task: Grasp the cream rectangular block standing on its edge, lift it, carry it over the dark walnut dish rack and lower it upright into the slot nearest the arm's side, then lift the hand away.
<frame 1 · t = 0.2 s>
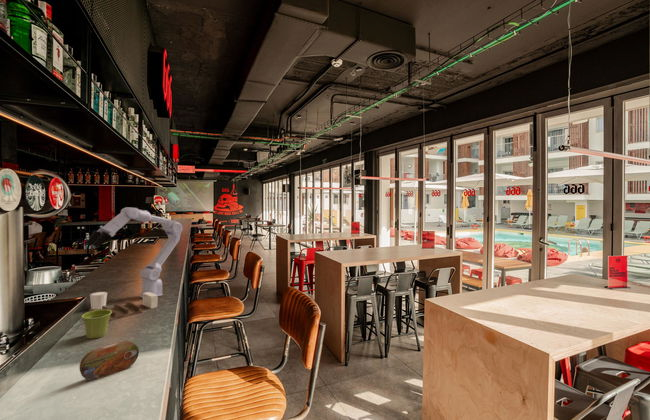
hand: (91, 245, 145), 31 cm above the bar counter, tool tilted 45°, fingers open, 7 cm apart
rack: (115, 314, 141), on the bar counter
shot glass: (98, 307, 149), on the bar counter
tin: (110, 373, 94), on the bar counter
cream rectangular block: (150, 305, 154), on the bar counter
plant pot: (96, 336, 118), on the bar counter
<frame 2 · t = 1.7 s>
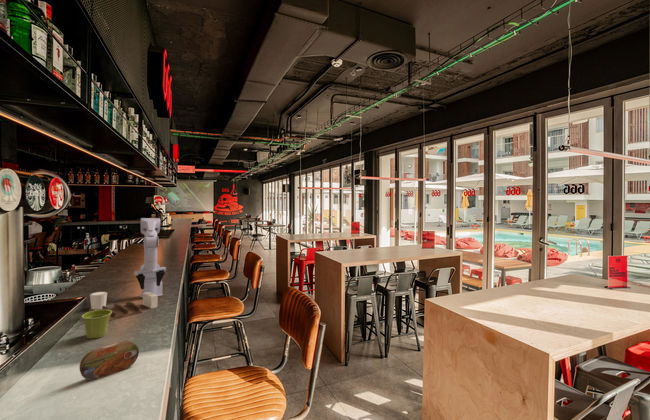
hand: (150, 287, 154), 9 cm above the bar counter, tool pointing down, fingers open, 7 cm apart
nothing on the bar counter moved.
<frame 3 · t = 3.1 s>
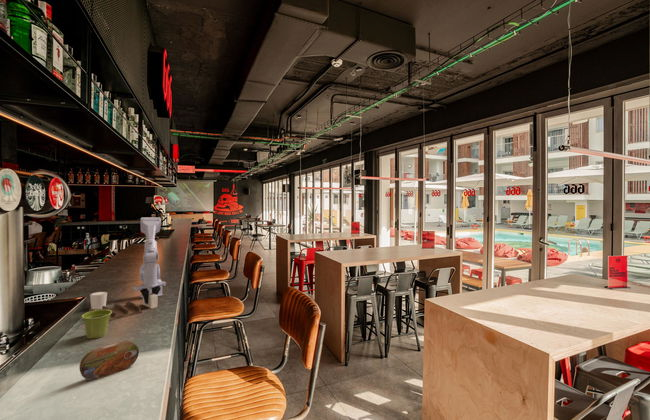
hand: (150, 302, 154), 2 cm above the bar counter, tool pointing down, fingers closed on cream rectangular block, 3 cm apart
cream rectangular block: (150, 305, 154), on the bar counter, touching gripper
everything else where it was.
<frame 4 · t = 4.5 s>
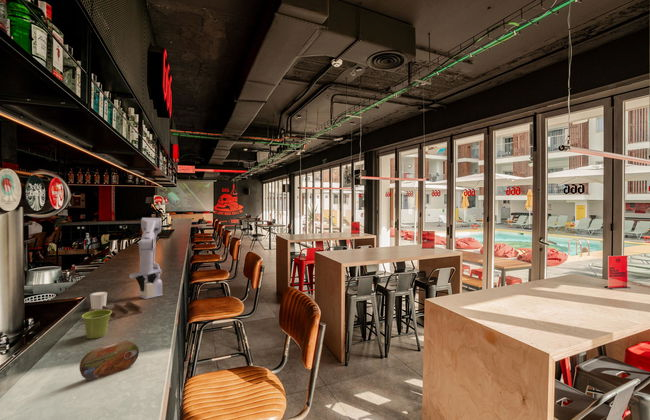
hand: (145, 290, 152), 8 cm above the bar counter, tool pointing down, fingers closed on cream rectangular block, 3 cm apart
cream rectangular block: (146, 294, 152), point 6 cm above the bar counter, touching gripper
everything else where it was.
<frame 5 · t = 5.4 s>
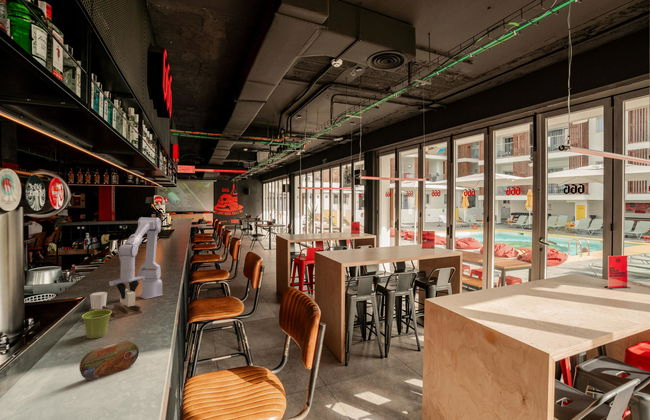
hand: (127, 297, 145), 7 cm above the bar counter, tool pointing down, fingers closed on cream rectangular block, 3 cm apart
cream rectangular block: (127, 303, 145), point 4 cm above the bar counter, touching gripper
everything else where it was.
when the fingers open (4 cm above the bar counter, at t = 6.1 s): cream rectangular block stays where it is, resting on rack.
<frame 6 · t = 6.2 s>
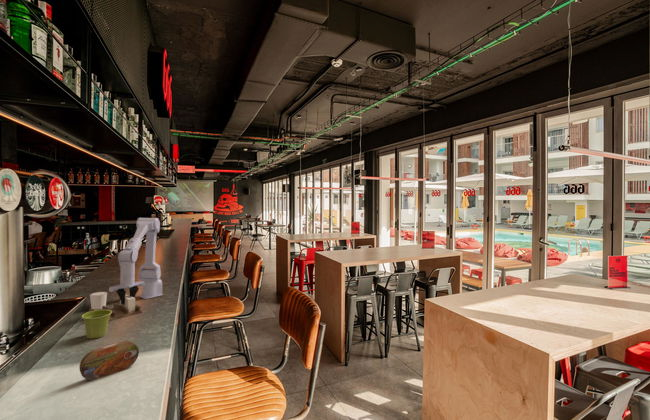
hand: (127, 303, 145), 4 cm above the bar counter, tool pointing down, fingers open, 3 cm apart
cream rectangular block: (127, 309, 145), point 1 cm above the bar counter, touching rack
everything else where it was.
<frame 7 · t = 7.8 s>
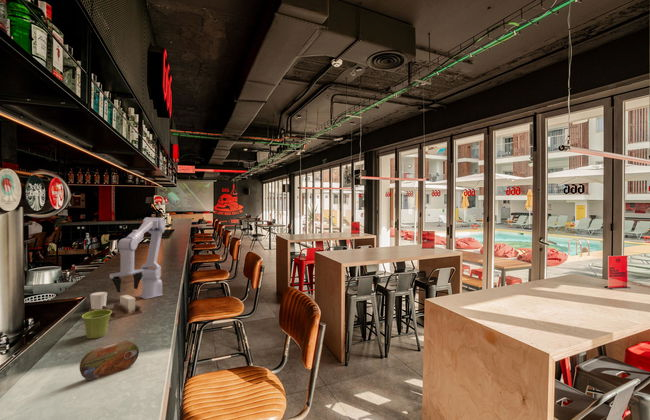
hand: (127, 290, 149), 9 cm above the bar counter, tool pointing down, fingers open, 7 cm apart
nothing on the bar counter moved.
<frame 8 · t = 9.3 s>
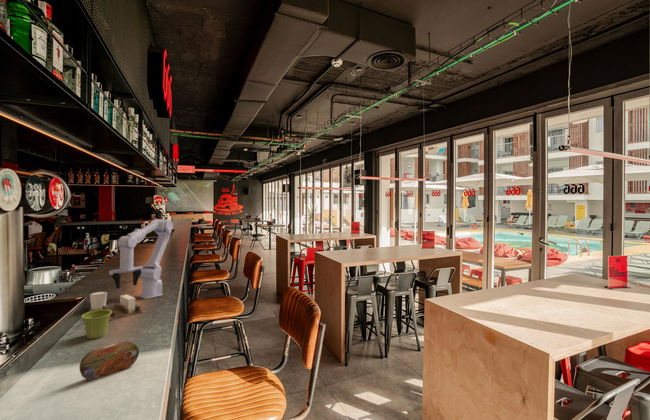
hand: (126, 286, 154), 9 cm above the bar counter, tool pointing down, fingers open, 7 cm apart
nothing on the bar counter moved.
at the end: cream rectangular block 0.4 cm from the target spot on the rack, point 1.0 cm above the rack's base; cream rectangular block tilted 0°; the gripper is holding nothing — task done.
